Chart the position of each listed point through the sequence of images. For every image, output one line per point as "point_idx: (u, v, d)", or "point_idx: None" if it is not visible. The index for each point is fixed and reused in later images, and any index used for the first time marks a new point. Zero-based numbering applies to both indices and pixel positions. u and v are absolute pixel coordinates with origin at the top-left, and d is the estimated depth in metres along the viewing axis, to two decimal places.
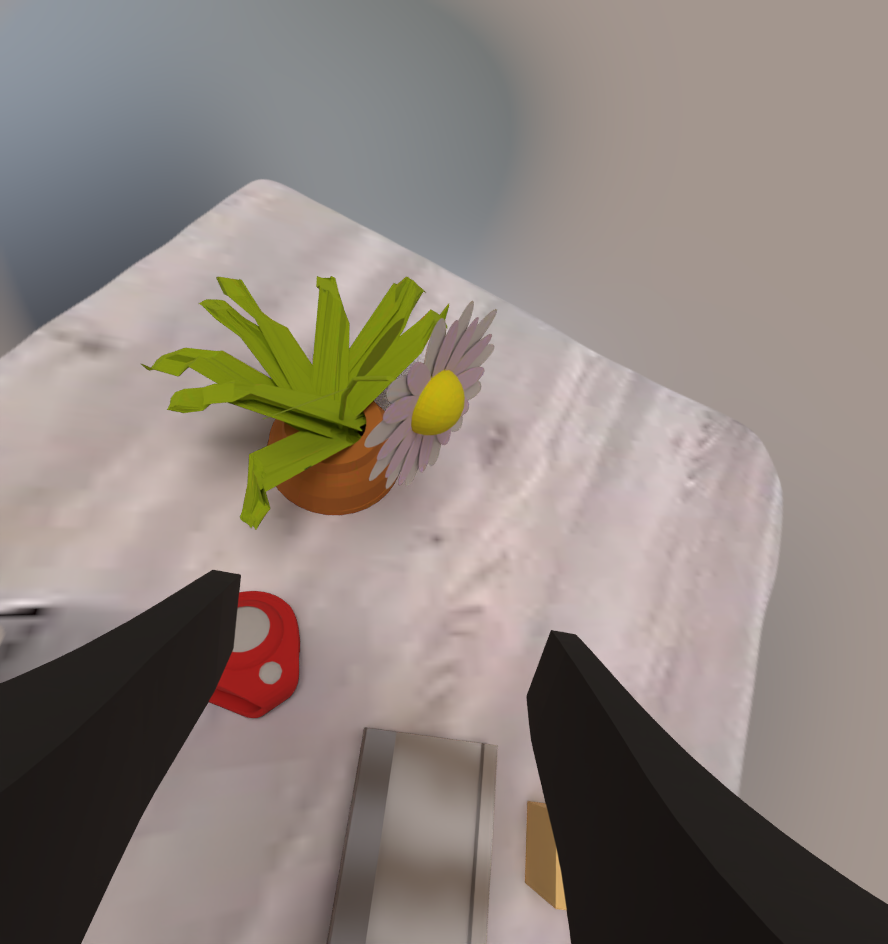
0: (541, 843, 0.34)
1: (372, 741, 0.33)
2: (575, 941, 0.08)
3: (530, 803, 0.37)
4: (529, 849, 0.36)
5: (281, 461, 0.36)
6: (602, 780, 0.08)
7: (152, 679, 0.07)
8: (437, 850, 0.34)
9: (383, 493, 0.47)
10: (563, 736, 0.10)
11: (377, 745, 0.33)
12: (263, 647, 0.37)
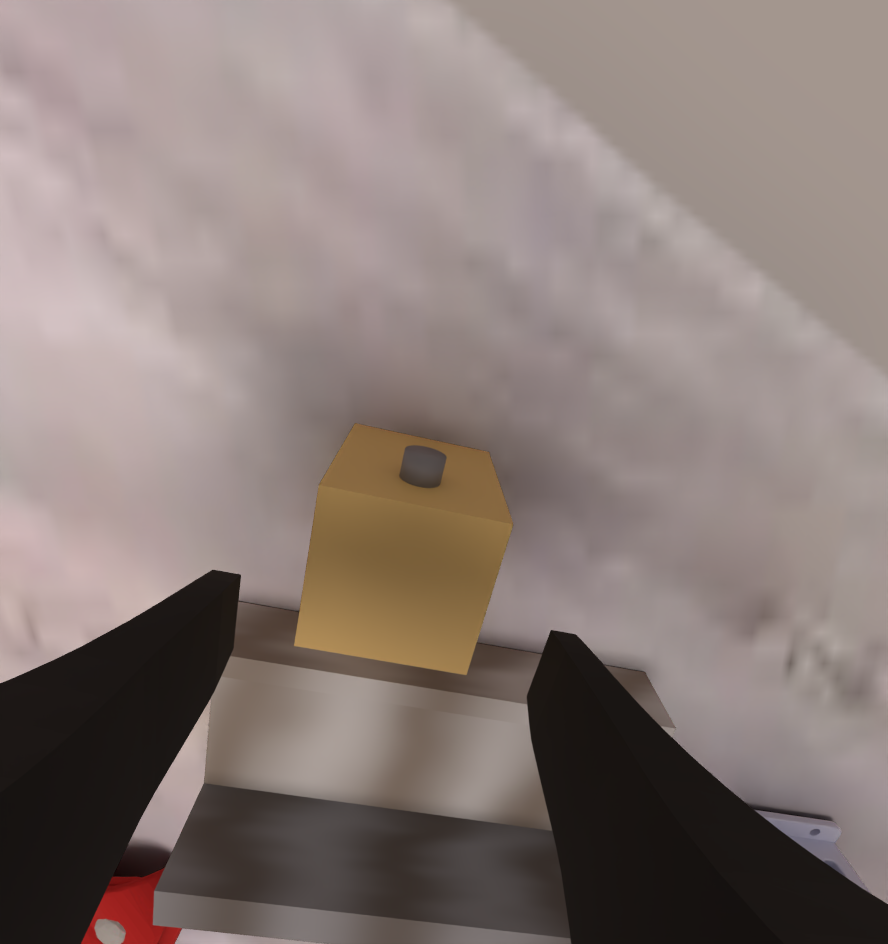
0: None
1: (175, 919, 0.18)
2: (575, 941, 0.08)
3: None
4: None
5: None
6: (602, 780, 0.08)
7: (152, 679, 0.07)
8: (380, 731, 0.20)
9: None
10: (563, 736, 0.10)
11: (180, 913, 0.18)
12: None
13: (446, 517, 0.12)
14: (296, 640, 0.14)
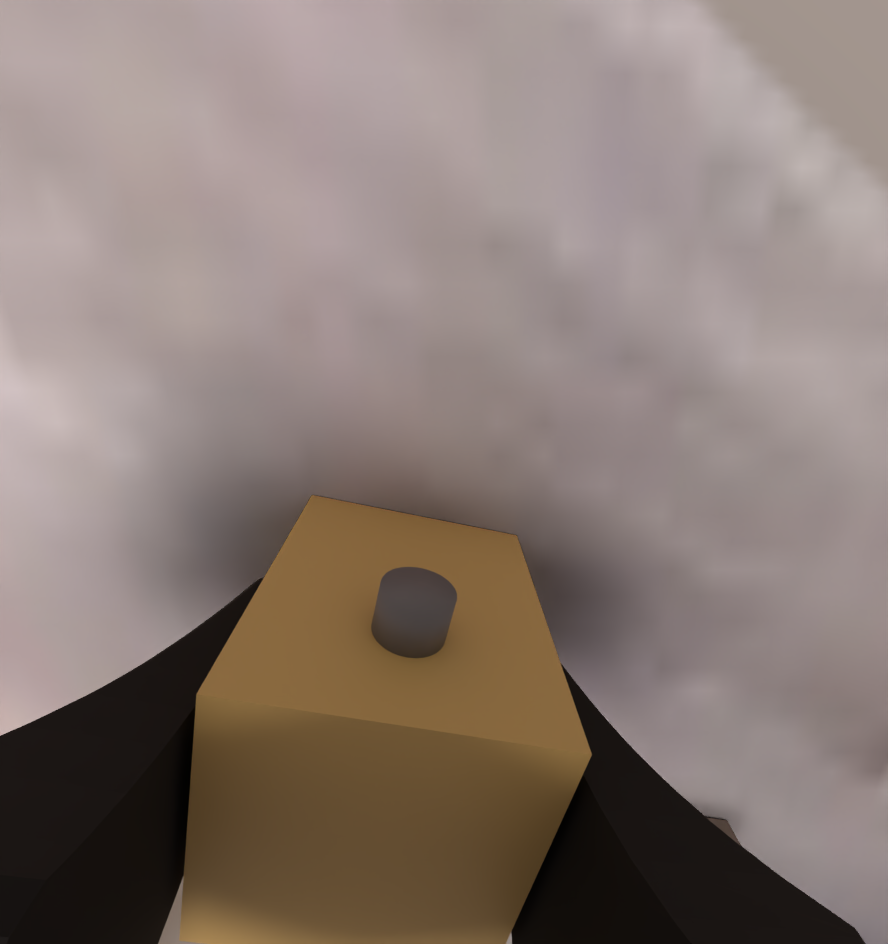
0: None
1: None
2: (515, 934, 0.08)
3: None
4: None
5: None
6: None
7: None
8: None
9: None
10: None
11: None
12: None
13: (460, 745, 0.06)
14: (183, 932, 0.07)
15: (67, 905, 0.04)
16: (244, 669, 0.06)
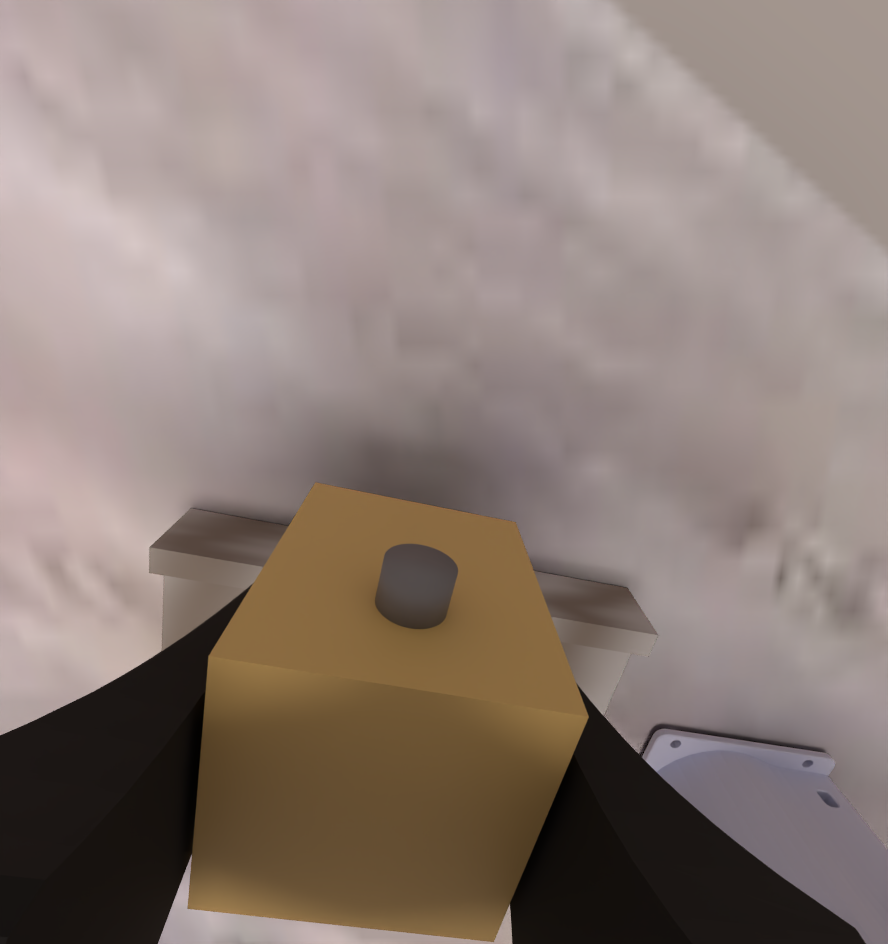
0: None
1: None
2: (515, 934, 0.08)
3: None
4: None
5: None
6: None
7: None
8: None
9: None
10: None
11: None
12: None
13: (461, 707, 0.06)
14: (191, 899, 0.08)
15: (66, 905, 0.04)
16: (253, 635, 0.07)
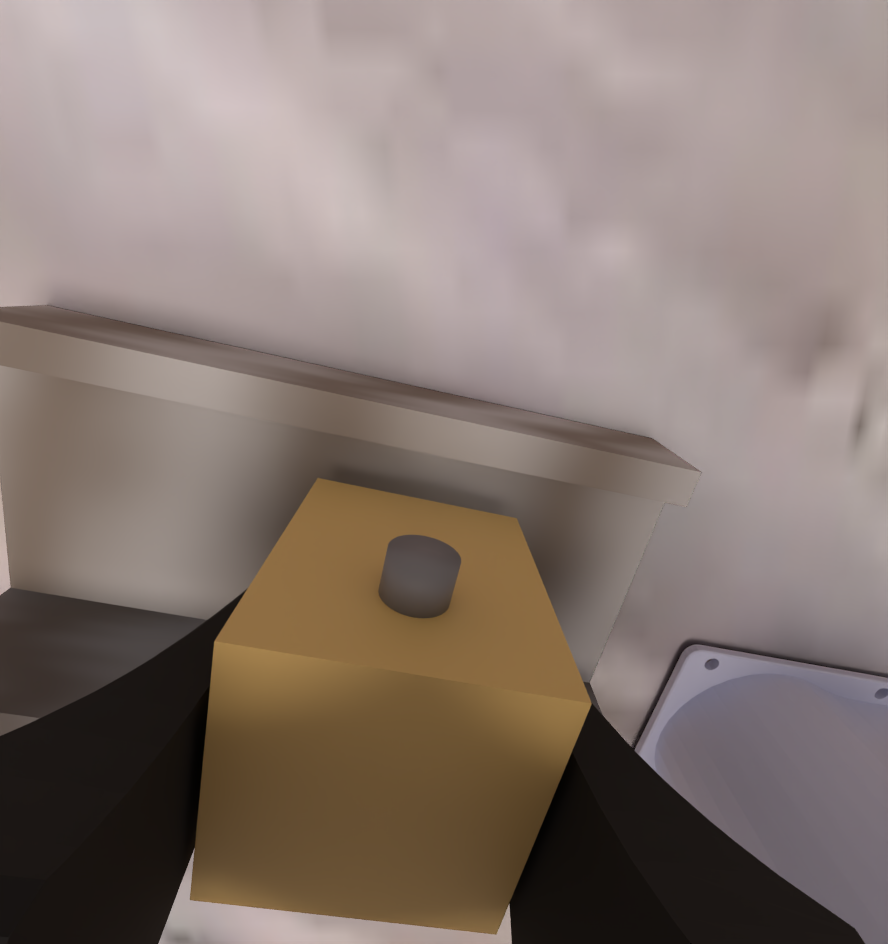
0: None
1: None
2: (515, 934, 0.08)
3: None
4: None
5: None
6: None
7: None
8: (261, 498, 0.14)
9: None
10: None
11: None
12: None
13: (465, 693, 0.06)
14: (194, 891, 0.08)
15: (67, 905, 0.04)
16: (258, 622, 0.07)
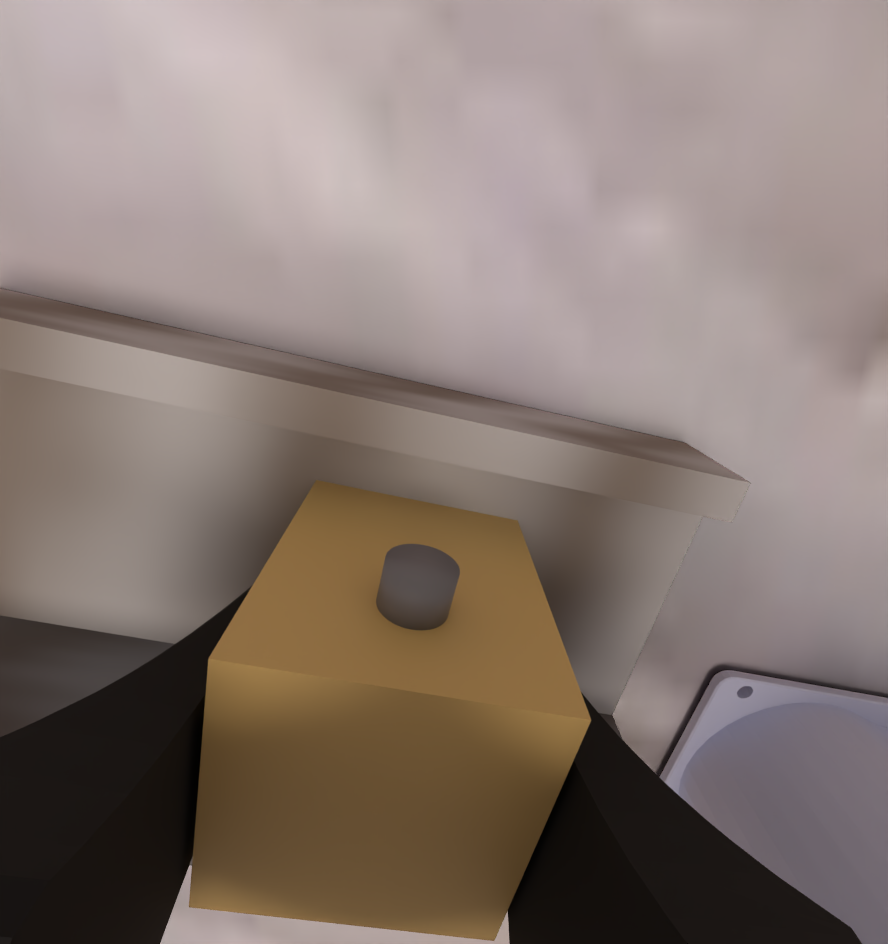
0: None
1: None
2: (512, 934, 0.08)
3: None
4: None
5: None
6: None
7: None
8: (243, 509, 0.12)
9: None
10: None
11: None
12: None
13: (463, 710, 0.06)
14: (193, 898, 0.08)
15: (69, 906, 0.04)
16: (254, 637, 0.07)
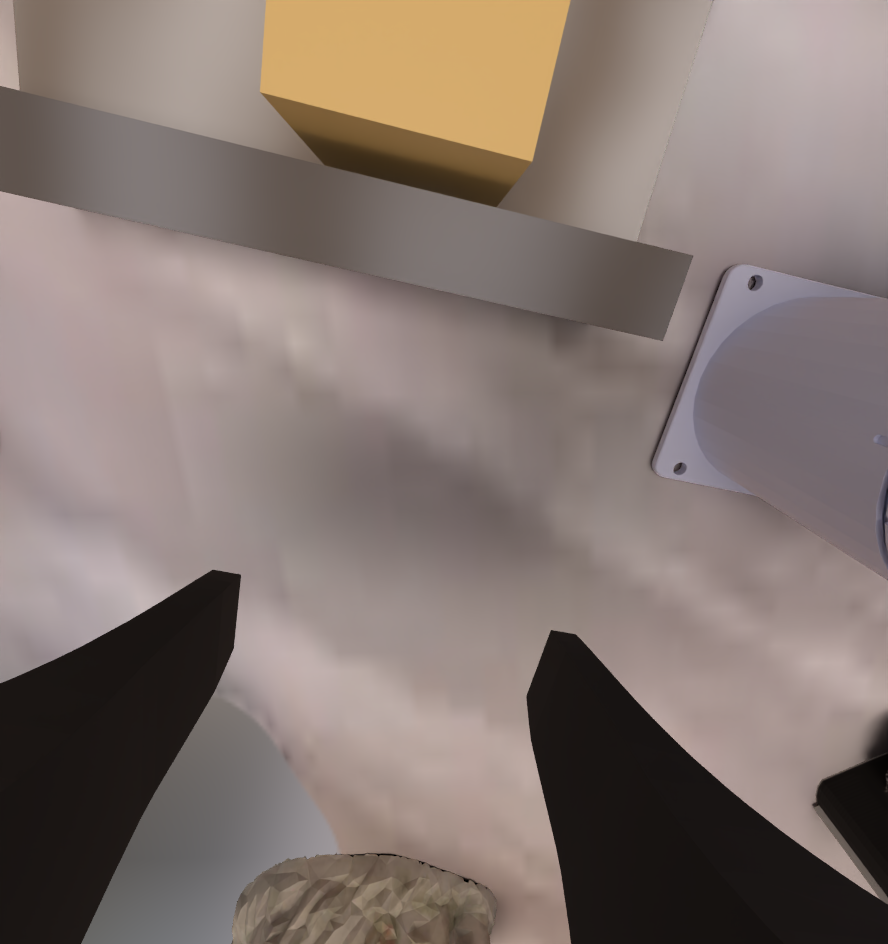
0: (392, 160, 0.11)
1: None
2: (575, 941, 0.08)
3: (325, 163, 0.14)
4: (425, 187, 0.14)
5: None
6: (602, 780, 0.08)
7: (152, 679, 0.07)
8: None
9: None
10: (563, 736, 0.10)
11: None
12: None
13: None
14: (263, 81, 0.09)
15: None
16: None
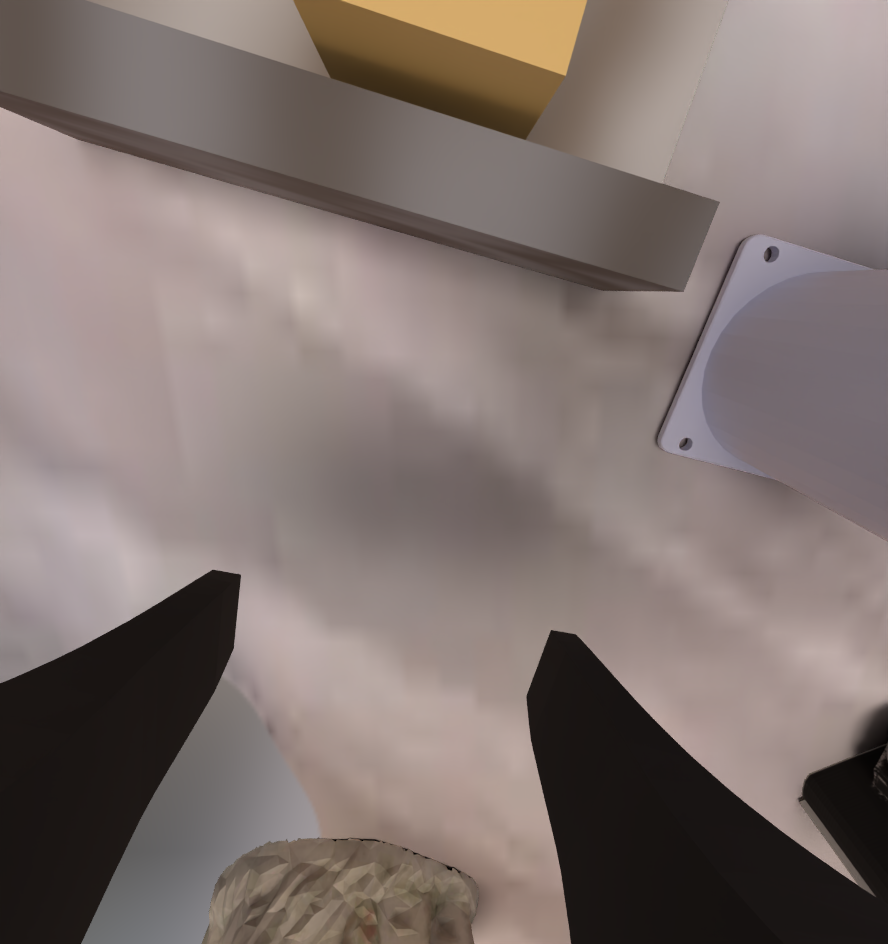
0: (414, 85, 0.11)
1: None
2: (575, 941, 0.08)
3: None
4: None
5: None
6: (602, 780, 0.08)
7: (152, 679, 0.07)
8: None
9: None
10: (563, 736, 0.10)
11: None
12: None
13: None
14: None
15: None
16: None
